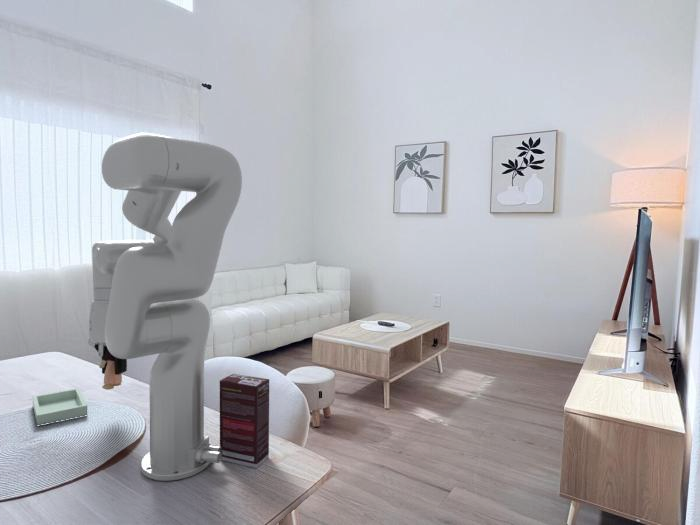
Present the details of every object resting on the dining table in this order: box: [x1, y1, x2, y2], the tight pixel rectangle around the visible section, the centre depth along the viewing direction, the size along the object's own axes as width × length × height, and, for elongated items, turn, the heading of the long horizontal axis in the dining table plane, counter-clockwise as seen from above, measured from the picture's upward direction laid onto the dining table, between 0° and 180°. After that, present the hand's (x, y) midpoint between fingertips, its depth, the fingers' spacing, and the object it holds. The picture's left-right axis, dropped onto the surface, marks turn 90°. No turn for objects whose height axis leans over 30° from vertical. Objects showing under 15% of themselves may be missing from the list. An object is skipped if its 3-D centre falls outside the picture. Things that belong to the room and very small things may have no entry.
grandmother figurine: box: [98, 350, 123, 391], centre depth 102 cm, size 8×4×13 cm, turn 1°
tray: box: [32, 387, 88, 426], centre depth 104 cm, size 14×10×3 cm
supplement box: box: [219, 373, 270, 469], centre depth 85 cm, size 9×5×16 cm, turn 70°
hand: (114, 371), depth 102 cm, fingers closed on grandmother figurine, 2 cm apart
